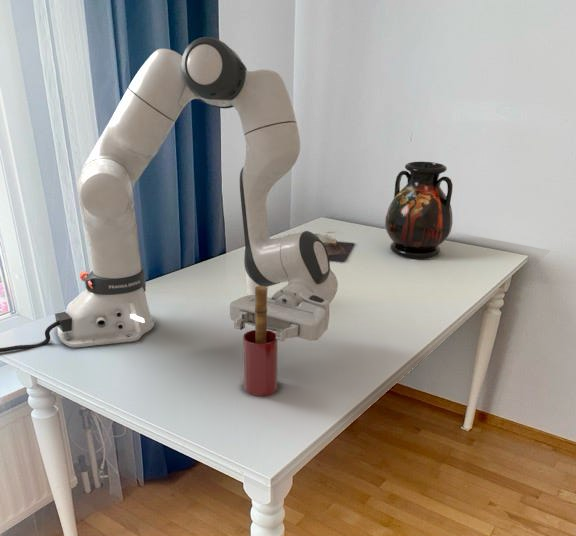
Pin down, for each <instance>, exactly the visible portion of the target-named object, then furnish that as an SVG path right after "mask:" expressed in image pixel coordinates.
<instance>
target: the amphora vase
mask: <svg viewBox="0 0 576 536" xmlns="http://www.w3.org/2000/svg"><path fill="white" fill-rule="evenodd" d="M404 168H405V170H401V171H399V172H398V174H397V176H396V178H395V183H394V192H393V193H394V194H393V199H392V201H391V202H390V204H389V206H388V208H387V212H386V216H385V222H384V223H385V225H384V227H385V231H386V233H387V235H388V236H389V238H390V239H391V241H392V242H391V244H390V246H389V247H390V250H391V252H392V253H393V254H395V255H397V256H399V257H402V258H406V259H415V260H425V259H426V260H427V259H432V258H435V257H437V256H438V255H439V254H440V253H441V247H440V245H441V244H442V243H444V242H445V240H446V239H447V238H448V237H449V236H450V234H451V232H452V228H453V209H452V205H451V201H452V196H453V181H452V178H450V177H448V176H441V177H440V175H441V174H444V173H445V172H446V171H447V170H448V168H447V165H445V164H442V163H439V162H432V161H411V162H407V163H406V164H405V165H404ZM403 176H405V177H406V179H407V184H406V185H405V186H403V188H402V189H401V181H402V177H403ZM442 182H445V183H446V186H447V193H445V192H444V191H443V188H441V183H442Z"/></svg>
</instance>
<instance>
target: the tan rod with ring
mask: <svg viewBox="0 0 576 536" xmlns="http://www.w3.org/2000/svg"><path fill="white" fill-rule="evenodd" d="M267 298H268V293H267V288H266V287H265V286H257V287H255V326H254V328H255V329H254V330H255V342H256V344H266V343H267V330H268V329H267Z"/></svg>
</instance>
